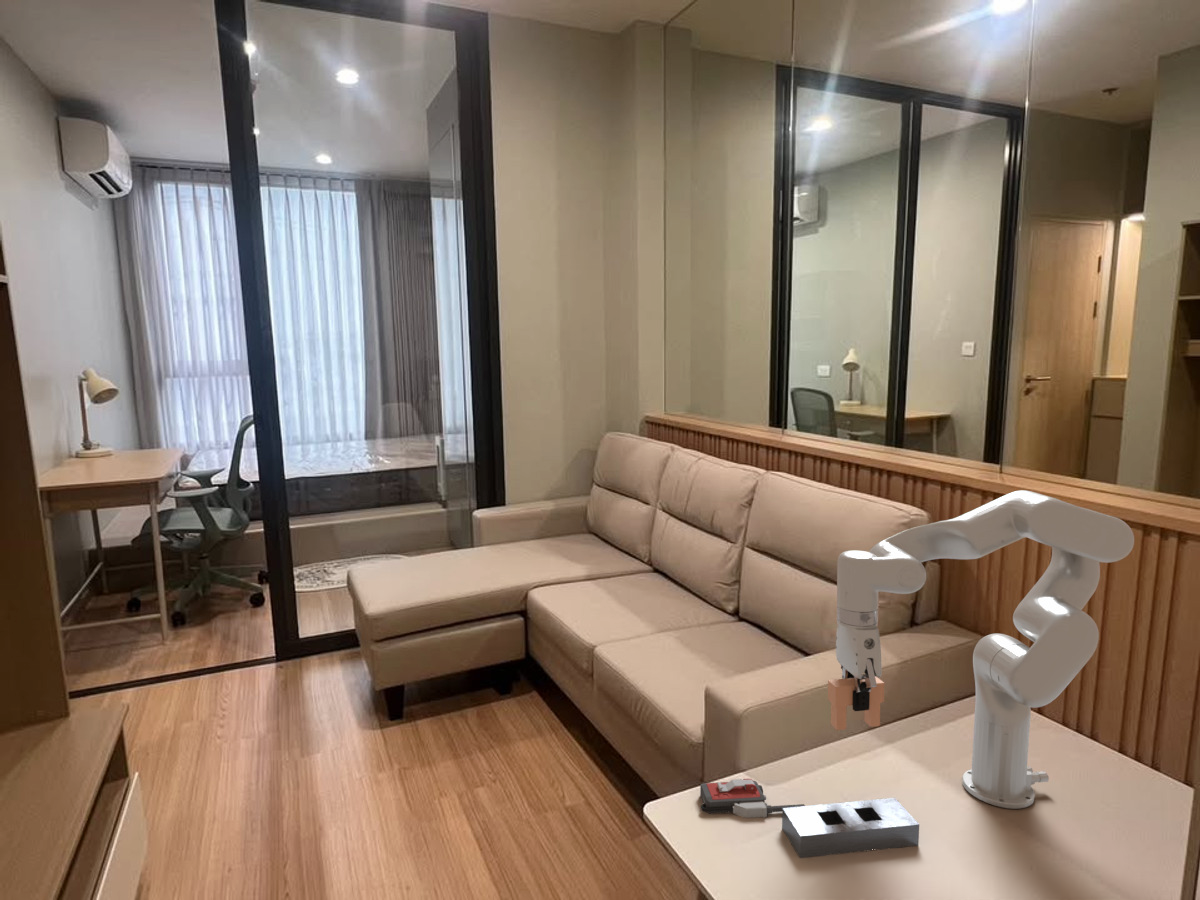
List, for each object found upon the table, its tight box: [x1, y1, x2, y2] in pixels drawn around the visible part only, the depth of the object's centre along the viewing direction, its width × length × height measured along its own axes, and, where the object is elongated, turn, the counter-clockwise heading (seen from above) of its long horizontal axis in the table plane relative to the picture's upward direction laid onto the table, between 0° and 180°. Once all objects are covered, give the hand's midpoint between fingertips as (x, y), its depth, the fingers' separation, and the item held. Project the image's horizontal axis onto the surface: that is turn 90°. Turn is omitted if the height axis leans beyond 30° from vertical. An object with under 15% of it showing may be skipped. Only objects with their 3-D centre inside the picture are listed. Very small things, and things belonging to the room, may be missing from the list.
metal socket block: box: [781, 797, 920, 859], centre depth 129 cm, size 22×8×4 cm, turn 98°
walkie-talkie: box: [699, 778, 806, 819], centre depth 139 cm, size 9×4×20 cm
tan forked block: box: [827, 677, 885, 731], centre depth 141 cm, size 10×3×9 cm, turn 98°
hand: (855, 704), depth 141 cm, fingers closed on tan forked block, 3 cm apart
